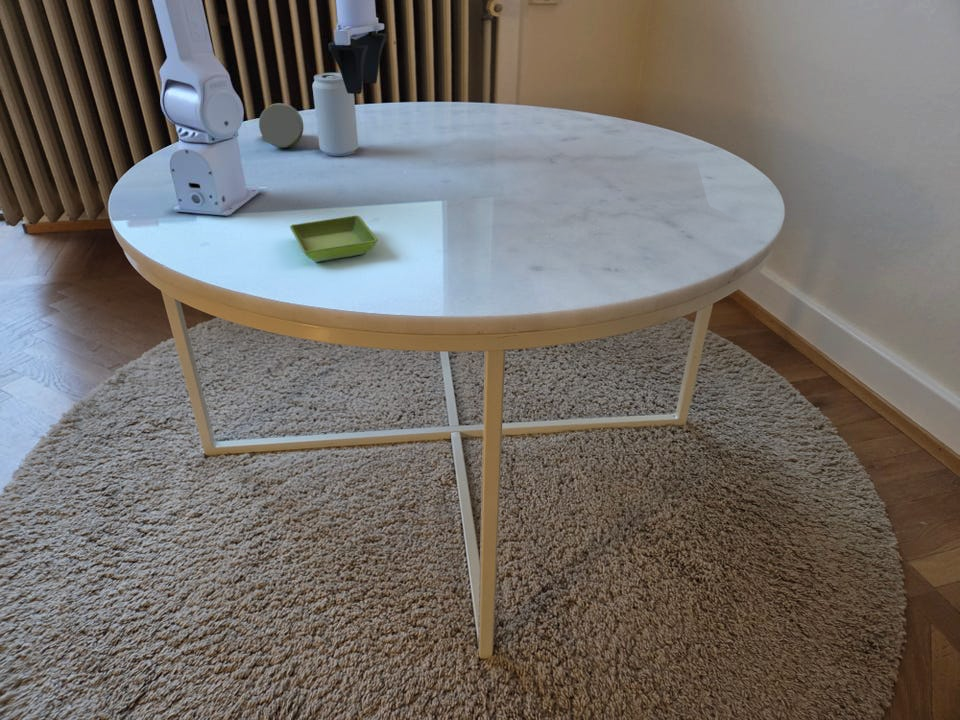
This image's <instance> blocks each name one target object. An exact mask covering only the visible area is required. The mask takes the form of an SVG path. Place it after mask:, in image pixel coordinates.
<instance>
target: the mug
mask: <svg viewBox="0 0 960 720" xmlns="http://www.w3.org/2000/svg"><path fill="white" fill-rule="evenodd" d="M258 128H259V132H260V134H261V139H262V140H264V141H266V143H268V144H269V145H272V146H273V147H277V148H280V149H281V148H282V149H286V148H291V147H292V146H294V145H296V144H298V143H299V141H300V140H301V138H302V136H303V133H304V122H303V118H302V116H301V114H300V112H299V111H298V110H297V109H296V108H294V106H292V105H289V104H287V103H282V102H275V103H272V104H270V105H267V106H266V107H265V108H264V109H263V111H262V112H261V113H260V116H259V120H258Z"/></svg>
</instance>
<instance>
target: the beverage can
mask: <svg viewBox="0 0 960 720" xmlns="http://www.w3.org/2000/svg"><path fill="white" fill-rule="evenodd" d="M313 80H314V81H313V82H312V86H311V87H312V92H313V93H312V94H313V104H314V111H315V112H314V113H315V119H316V121H315V122H316V129H317V136H318V145H319V150H320V151H321V152H323V153H324V154H325V155H328V156H333V157H345V156H350V155H352V154H354V153H355V152H356V151H357V150H358V148H359V138H358V125H357V114H356V103H355V102H356V101H355V94H350V93H347V90H346V88H345V84H344V81H343V78H342V75H341V72H323V73H318V74H315V75H314V76H313Z"/></svg>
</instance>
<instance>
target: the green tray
mask: <svg viewBox="0 0 960 720" xmlns="http://www.w3.org/2000/svg"><path fill="white" fill-rule="evenodd" d="M289 229H290V231H291V232H292V234H293V236H294V238H295V240H296V241H297V243H298V245H299V247H300V250H301V251H302V252H303V254H304V255H305V256H306V257H307V258H308V259H309V260H311V261H312V262H315V263H318V262H324V261H330V260H336V259H342V258H348V257H354V256H361V255H365V254H367V253H368V252H370V251H371V250H372V249H374V248H373V247H375V246H376V244H377V242H378V237H377V236H376V235H375V234H374V232H373V231H372V230H371V229H370V228H369V226H368V225H367V224H366V222H365V221H364V220H363V218H362V217H361V216H360V215H348V216H342V217H336V218H328V219H322V220H315V221H309V222H308V221H307V222H302V223H295V224H291V225H289Z"/></svg>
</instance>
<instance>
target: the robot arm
mask: <svg viewBox="0 0 960 720" xmlns="http://www.w3.org/2000/svg"><path fill="white" fill-rule="evenodd" d="M151 1H152V5H153V8H154V13H155V16H156V20H157V24H158V28H159V31H160V35H161V39H162V44H163V47H164V50H165V54H166V59H165V61H164V62H163V64H162V65H161V67H160V69H159V72H158V74H159V77H160V83H161V89H160V90H161V91H160V98H159V99H160V107H161V110H162V112H163V115H164V116H165V117H166V119H167V120H168V121H169V122H170V123H172V124H173V125H175V131H176V133H177V137H178V146H177V149H176V150H175V151H174V152H173V153H172V155H170V156H171V157H170V159H169V170H170V174H171V179H172V182H173V183H172V184H173V187H174V190H175V194H176V198H177V202H178V204H177V205H175V206H174V207H173V210H174V212H178V213H179V212H180V213H191V214H203V215H213V216H214V215H215V216H231V215H232V214H233V213H234V212H236V211H237V210H239V209H240V208H241V207H243V205H245V204H246V203H248V202H249V201H250V200H252V199H253V198H254V197H255V196H257V195H258V194H259V193H260V192H261V191H260V189H259V188H255V187H247V182H246V178H245V173H244V167H243V162H242V156H241V151H240V145H239V141H238V140H239V139H238V137H239V136H240V135H239V130H240V129H241V126H242V124H243V121H244V115H245V112H244V111H245V110H244V105H243V102H242V100H241V98H240V96H239V95H238V94H237V92H236V90H235V89H234V87H233V84H232V81H231V76H230V74H229V72H228V71H227V69H226V68H225V66H223V64H222V63H221V62H220V61H219V59H218V58H217V56H216V55H215V54H214V49H213V44H212V40H211V35H210V30H209V27H208V22H207V18H206V13H205V9H204V5H203V0H151ZM335 6H336V7H335V8H336V16H337V23H336V29H333V34H334V41H331V42H329V43H328V45H327V46H328V51H329V52H330V54H331V56H332V57H333V59H334V60H335V62H336V64H337V66H338V69H339V73H341V75H342V78H343V81H344V84H345V88H346V90H347V93H350V94H354V95H361V94H362V93H363V84H373V85H374V84H377V82H378V77H379V71H380V70H379V69H380V61H381V56H382V52H383V48H384V46H385V43H386V41H387V34H386V33H384V32H379V31H382V30H384V29H385V24H384V23H381V22H379V17H377V12H376V0H335Z"/></svg>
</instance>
